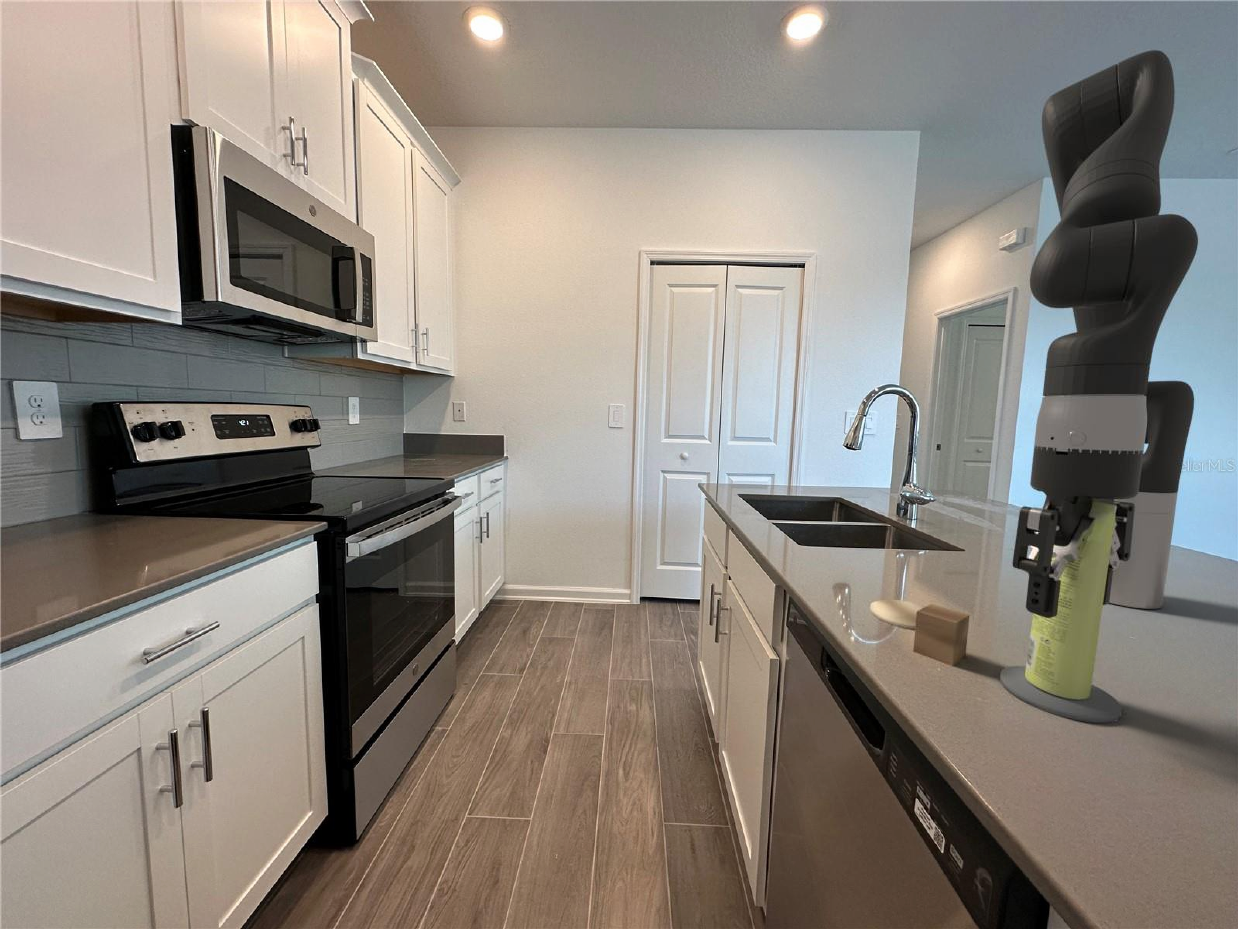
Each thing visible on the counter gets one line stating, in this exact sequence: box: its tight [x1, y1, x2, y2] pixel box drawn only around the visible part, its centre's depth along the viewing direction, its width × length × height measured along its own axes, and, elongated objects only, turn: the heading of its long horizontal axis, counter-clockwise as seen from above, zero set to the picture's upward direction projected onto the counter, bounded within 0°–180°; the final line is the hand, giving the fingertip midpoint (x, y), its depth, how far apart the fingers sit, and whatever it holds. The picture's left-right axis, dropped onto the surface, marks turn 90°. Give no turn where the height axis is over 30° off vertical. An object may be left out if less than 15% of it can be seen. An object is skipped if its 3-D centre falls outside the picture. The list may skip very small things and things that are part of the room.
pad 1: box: [869, 599, 927, 631], centre depth 68 cm, size 9×9×1 cm
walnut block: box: [913, 603, 970, 667], centre depth 57 cm, size 4×4×5 cm
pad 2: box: [999, 665, 1122, 724], centre depth 49 cm, size 9×9×1 cm
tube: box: [1025, 501, 1117, 700], centre depth 48 cm, size 6×5×20 cm
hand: (1067, 608), depth 48 cm, fingers open, 8 cm apart
